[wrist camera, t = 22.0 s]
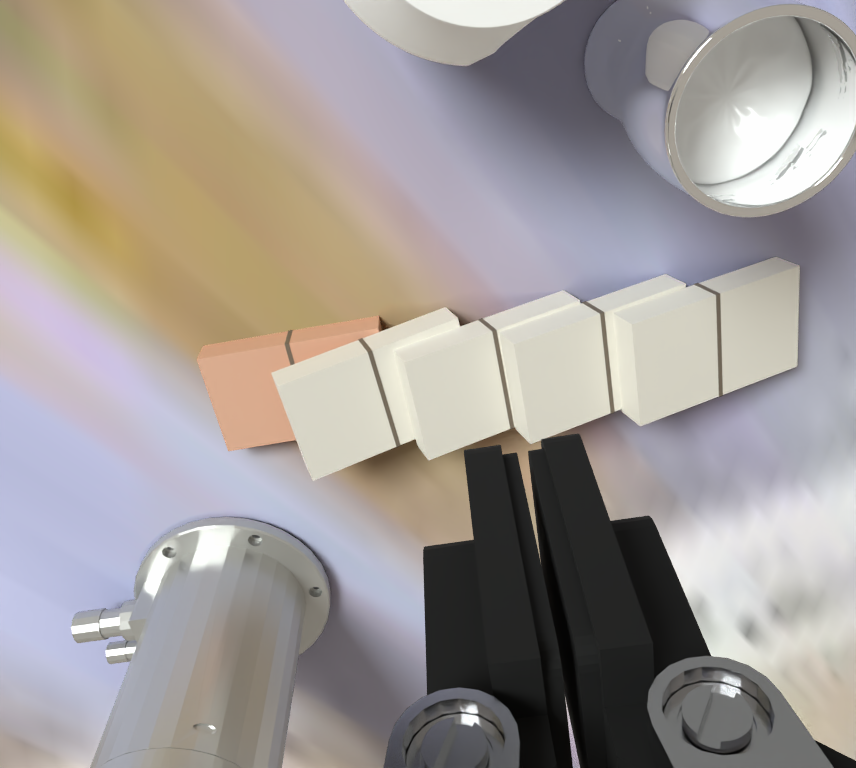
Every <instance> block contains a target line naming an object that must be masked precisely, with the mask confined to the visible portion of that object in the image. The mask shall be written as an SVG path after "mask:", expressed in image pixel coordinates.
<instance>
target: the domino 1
mask: <svg viewBox="0 0 856 768" xmlns="http://www.w3.org/2000/svg"><path fill="white" fill-rule="evenodd" d="M381 331H382V327H381V323H380V318H379V316H374V317H368V318H362V319H356V320H351V321H345V322H339V323H333V324H327V325H321V326H315V327H310V328H304V329H298V330H290V331H286V332H280V333H274V334H269V335H263V336H257V337H251V338H245V339H239V340H233V341H228V342H222V343H216V344H210V345H204V346H203V347H202V349H201V351H200V353H199V355H198V358H197V362H198V365H199V368H200V371H201V374H202V377H203V379H204V382H205V385H206V388H207V391H208V394H209V397H210V400H211V402H212V405H213V408H214V411H215V414H216V417H217V420H218V423H219V426H220V428H221V431H222V434H223V437H224V440H225V443H226V446H227V449H228V451H233V450H239V449H245V448H251V447H257V446H263V445H269V444H275V443H281V442H287V441H293V440H296V438H295V435H294V433H293V430H292V427H291V425H290V422H289V419H288V417H287V414H286V411H285V409H284V406H283V403H282V401H281V398H280V395H279V393H278V390H277V387H276V385H275V382H274V379H273V377H272V374H271V373H272V372H275V371H277V370H280V369H283V368H285V367H288V366H291V365H293V364H296V363H298V362H301V361H304V360H306V359H309V358H312V357H314V356H317V355H320V354H322V353H325V352H328V351H330V350H333V349H336V348H338V347H341V346H344V345H346V344H349V343H352V342H354V341H357V340H358V339H361V338H365V337H367V336H370V335H373V334H375V333H378V332H381Z"/></svg>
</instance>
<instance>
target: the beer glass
mask: <svg viewBox="0 0 856 768" xmlns="http://www.w3.org/2000/svg"><path fill="white" fill-rule="evenodd" d="M584 70H585V78H586V82H587V85H588V88H589V90H590V93H591V95H592V96H593V98H594V100H595V101H596V102H597V104H598V105H599V106H600V107H601V108H602V109H603V110H604V111H605V112H607V113H608V114H609V115H611V116H613V117H614V118H616V119H618V120H621V122H622V124H623V127H624V129H625V131H626V133H627V135H628V137H629V139H630V141H631V143H632V145H633V147H634V148H635V150H636V151H637V152H638V154H639V155H640V156H641V157H642V158H643V159H644V160H645V162H646V163H647V164H648V165H649V166H650V167H651V168H652V169H653V170H654V171H655V172H656V173H657V174H659V175H660V176H661V177H662V178H664V179H665V180H666V181H667V182H669V183H670V184H671V185H673V186H674V187H676V188H678V189H679V190H681V191H683V192H684V193H686V194H688V195H689V196H691V197H693V198H694V199H695V200H696V201H698V202H699V203H701V204H702V205H704V206H706V207H707V208H709V209H712V210H714V211H716V212H719V213H722V214H726V215H730V216H737V217H761V216H767V215H772V214H776V213H779V212H783V211H785V210H788V209H791V208H793V207H795V206H797V205H799V204H801V203H803V202H805V201H807V200H808V199H810V198H811V197H813V196H814V195H816V194H817V193H818V192H820V191H821V190H822V189H824V188H825V187H826V186H827V185H828V184H829V183H830V182H831V181H833V180H834V179H835V178H836V176H837V175H838V174H839V173H840V172H841V171H842V170H843V168H844V167H845V166H846V165H847V163H848V162H849V161H850V159H851V158H852V156H853V155H854V153H855V151H856V35H855V34H854V32H853V31H852V30H851V29H850V28H849V27H848V26H847V25H846V24H845V23H844V22H842V21H841V20H840V19H838V18H837V17H835V16H834V15H832V14H830V13H828V12H826V11H824V10H821V9H819V8H815V7H812V6H807V5H805V4H802V3H800V2H797V1H795V0H617V1H615V2H614V3H613V4H612V5H611V6H610V7H609V8H607V10H606V11H605V12H604V13H603V14H602V15H601V17H600V18H599V19H598V21H597V22H596V24H595V26H594V27H593V29H592V31H591V34H590V36H589V39H588V42H587V46H586V51H585V58H584Z"/></svg>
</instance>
